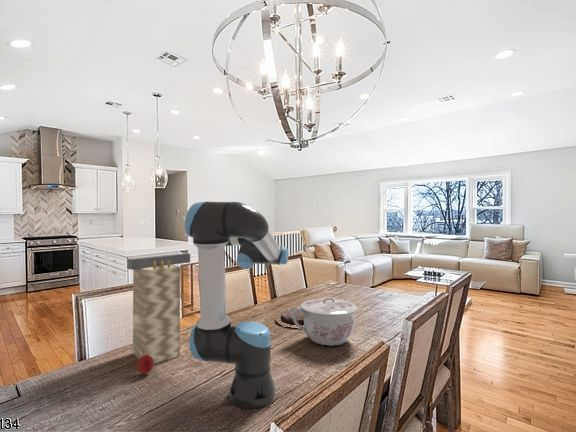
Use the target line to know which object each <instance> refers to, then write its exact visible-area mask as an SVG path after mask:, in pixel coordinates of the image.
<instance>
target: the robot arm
mask: <svg viewBox="0 0 576 432" xmlns="http://www.w3.org/2000/svg"><path fill="white" fill-rule="evenodd" d="M184 219H185V220H184V230H185V231H184V234H183V236H184V237H190V238H192V244H193V245H194V246H195V247H196V248H197V253H198V255H197V257H198V282H199V283H198V285H199V312H200V314H199V315H200V316H199V317H200V318H199V319H198V320H197V321H196V322H195V325H194V326H193V327H192V329H191V330H190V337H189V338H188V339H189V340H188V342H189V350H190V353H191V355H192V356H193V358H195V359H197V360H199V361H204V362H206V363H207V362H213V363H221V364H222V363H225V364H233V365H234V375H233V379H232V381H231V385H230V388H229V400H230V402H231V403H232V404H233V405H234V406H236V407H238V408H242V409H248V410H249V409H258V408H263V407H265V406H268V405H269V404H271V403H272V402H273V400H274V399H275V396H276V386H275V383H274V379H273V377H272V374H271V373H272V372H271V345H272V341H271V331H270V329H269V328H268V327H267V326H266V325H265V324H263V323H260V322H257V321H250V320H249V321H248V320H247V321H245V320H244V321H240V322H238V323H236V324H235V326H233V325H232V319H231V317H230V316H229V315H228V314H227V293H226V291H227V290H226V286H227V285H226V256H225V254H226V253H225V250H226V249H225V247H231V246H233V247H234V246H239V251H238V252H237V256H236V265H237V266H238V268H241V269H244V270H250V269H252V268H253V266H254V265H255V264H257V265H258V264H259V265H279V266H280V265H287V264H288V261H289V256H290V254H289V249H288V247H285V246H280V245H279V244H278V242H277V241H276V239H275V238H274V236H273V235H272V233H271V232H270V230H269V223H268V221H267V219H266V218H265V217H264V215H263V214H261V213H260V211H258V210H257V209H255V208H254V207H252V206H250V205H248V204H246V203H243V202H240V201H239V202H238V201H206V200H205V201H201V202H200V201H199V202H195V203H194V204H192V205H191V206H190V207H189V209H188V210H187V213H186V216H185V218H184ZM270 402H271V403H270Z"/></svg>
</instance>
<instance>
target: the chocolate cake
mask: <svg viewBox="0 0 576 432" xmlns="http://www.w3.org/2000/svg"><path fill="white" fill-rule="evenodd" d="M296 308H298V307H296V306H294V307H291V308H287V309H285V310H283V311H281V312H280V314H281V317H280V319H281V321H282V322H284V323H287V324H290V325H296V324H295V323H294V322H293V319H292V315H293V312H294V310H295V309H296ZM300 308H301V307H300ZM301 309H302V308H301ZM296 321H297V322H298V323H299V325H302V326H303V325H304V318H303V313H302V312H298V313H296Z"/></svg>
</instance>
